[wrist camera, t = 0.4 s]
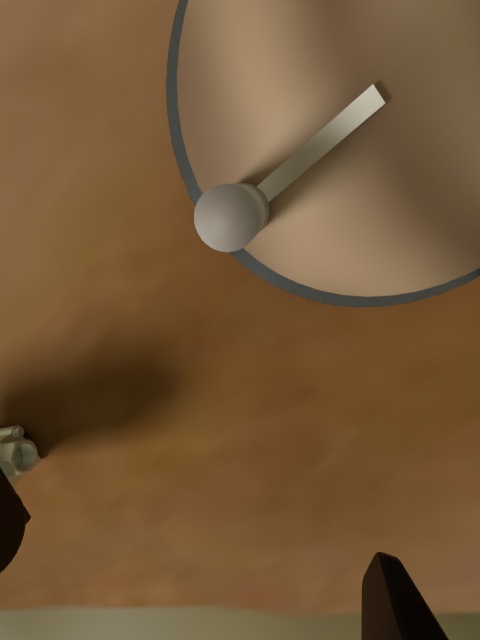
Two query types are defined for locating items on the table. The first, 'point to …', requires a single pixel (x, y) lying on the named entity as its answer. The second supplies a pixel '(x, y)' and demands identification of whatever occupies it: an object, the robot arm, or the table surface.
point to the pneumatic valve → (3, 502)
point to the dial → (336, 137)
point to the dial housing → (242, 253)
